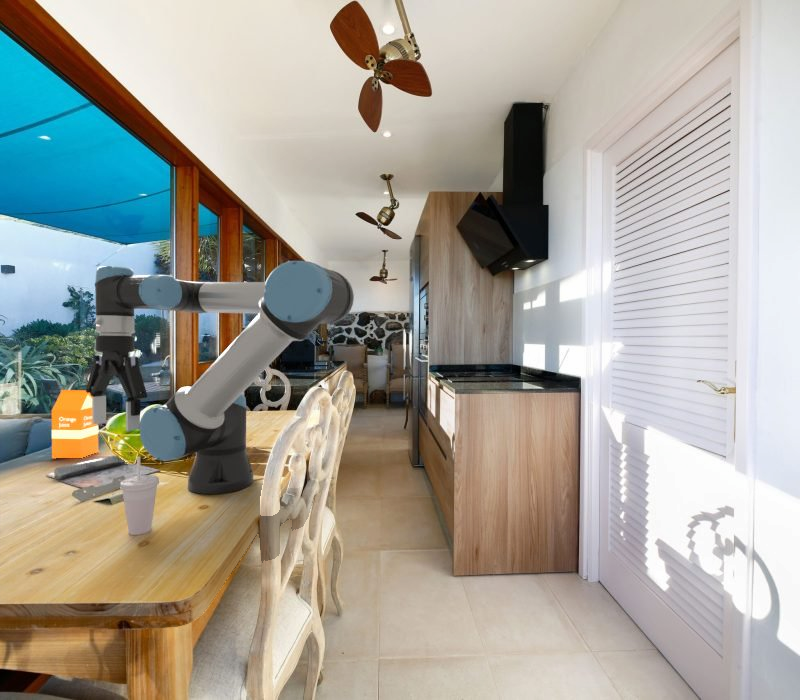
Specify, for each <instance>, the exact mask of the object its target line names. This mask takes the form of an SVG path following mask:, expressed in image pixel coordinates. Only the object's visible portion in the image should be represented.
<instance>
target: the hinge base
mask: <svg viewBox="0 0 800 700" xmlns="http://www.w3.org/2000/svg"><path fill="white" fill-rule="evenodd" d="M116 455H117V454H113V455H109V456H105V457H104V456H103V457H100V458H95V459H90V460H86V461H81V462H77V463H73V464H67V465H63V466H59V467H55V468H54V471H53V472H49V473H46V477H48V478H51V477H52V479H54V478H55V479H56V480H57V479H58V480H57V482H61V483H64V484H66V483H67V484H66V485H68V486H69V485H70V486H72V485H73V486H72V487H75V486H76V488H78V489H82V488H85V487H88V486H91V485H94V487H95V488H97V487H100V486H103V485H106V484H109V483H112V482H113V481H112V479H114V478H117V477H120V476H125V479H127V478H131V477H135V476H137V463H133V464H127V463H126V462H125V461H124V460H122V459H121V458H119V457H118V456H116ZM125 463H126V464H125ZM104 468H105V469H104ZM158 472H161V469H157V468H155V467H154V468H153V467H149V466H146V465H141V464H140V476H142V475H152V474H154V473H158ZM83 473H84V474H83ZM118 481H119V482H120V481H121V480H120V479H118Z"/></svg>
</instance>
